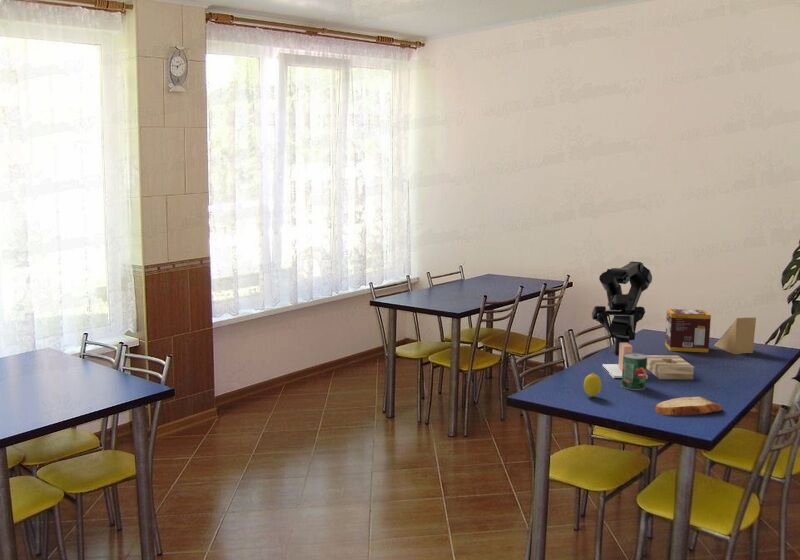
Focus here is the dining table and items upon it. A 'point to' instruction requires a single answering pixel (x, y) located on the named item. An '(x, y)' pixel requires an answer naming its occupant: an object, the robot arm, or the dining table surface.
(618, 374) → the mat
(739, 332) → the sandwich container
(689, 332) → the supplement box
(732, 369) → the dining table surface
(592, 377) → the lemon
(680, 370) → the slot box
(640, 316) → the robot arm
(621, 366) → the pink rectangular block
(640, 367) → the canned tomato
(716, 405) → the slice of bread
